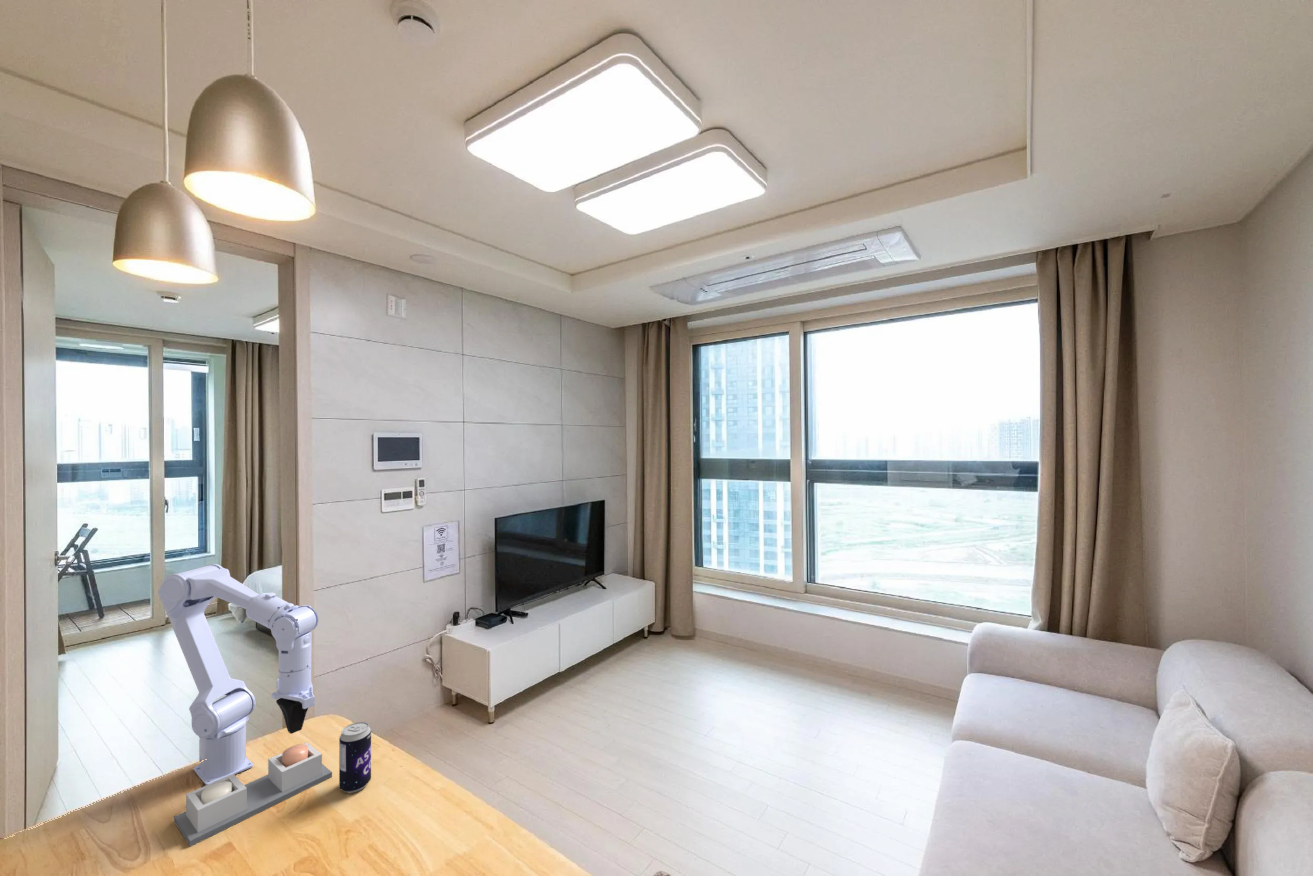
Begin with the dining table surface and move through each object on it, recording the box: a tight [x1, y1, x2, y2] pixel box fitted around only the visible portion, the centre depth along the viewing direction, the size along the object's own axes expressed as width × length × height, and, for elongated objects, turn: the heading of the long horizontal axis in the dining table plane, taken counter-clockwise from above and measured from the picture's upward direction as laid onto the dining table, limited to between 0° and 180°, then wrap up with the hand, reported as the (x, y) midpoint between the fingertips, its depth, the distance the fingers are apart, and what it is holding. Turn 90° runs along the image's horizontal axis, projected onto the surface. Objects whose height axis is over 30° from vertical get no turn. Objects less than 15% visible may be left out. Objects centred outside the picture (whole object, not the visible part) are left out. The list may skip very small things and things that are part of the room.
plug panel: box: [173, 742, 333, 847], centre depth 104 cm, size 10×23×5 cm, turn 145°
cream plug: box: [201, 781, 232, 805], centre depth 98 cm, size 4×4×4 cm
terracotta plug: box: [282, 743, 308, 767], centre depth 109 cm, size 4×4×4 cm
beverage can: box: [338, 721, 372, 794], centre depth 107 cm, size 6×6×12 cm
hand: (294, 730), depth 110 cm, fingers closed
